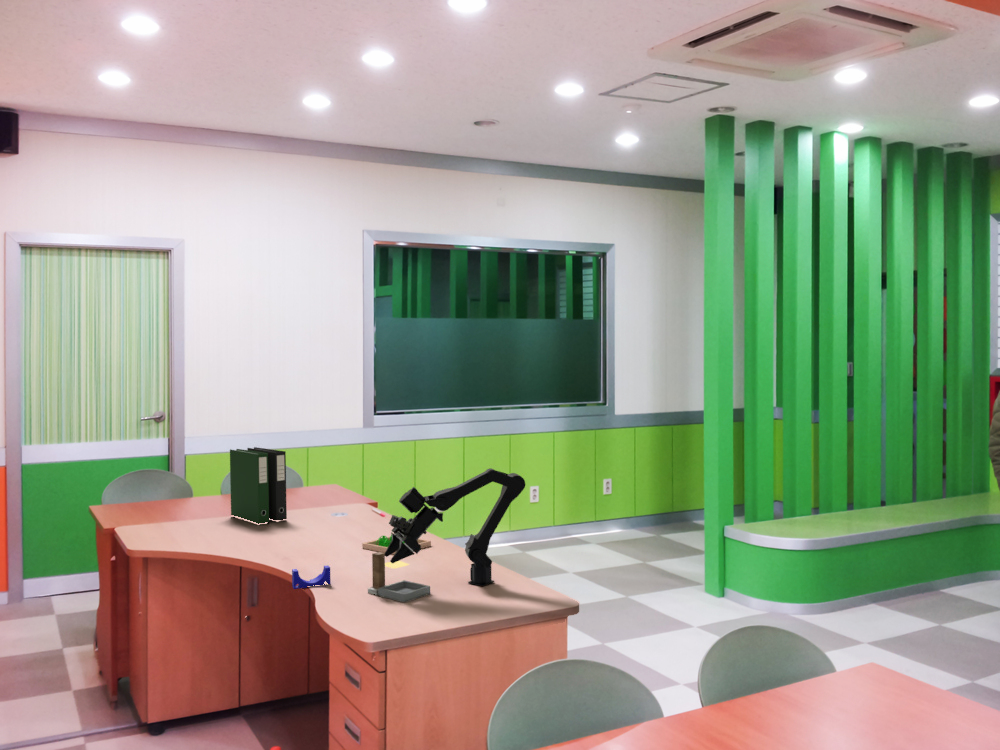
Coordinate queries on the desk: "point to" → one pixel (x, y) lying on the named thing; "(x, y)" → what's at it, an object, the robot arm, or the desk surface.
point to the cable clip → (316, 581)
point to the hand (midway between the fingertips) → (388, 559)
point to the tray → (404, 591)
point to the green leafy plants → (384, 541)
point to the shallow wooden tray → (374, 547)
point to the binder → (258, 484)
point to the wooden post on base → (378, 572)
